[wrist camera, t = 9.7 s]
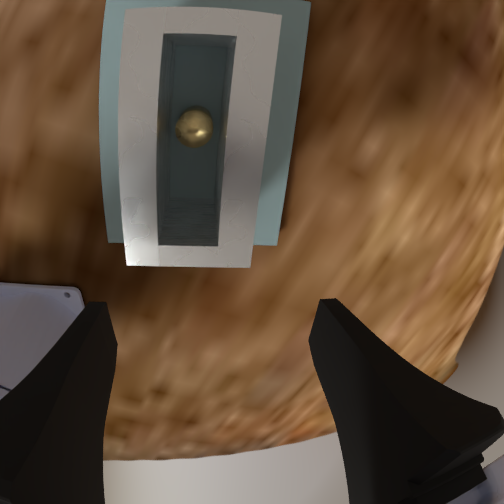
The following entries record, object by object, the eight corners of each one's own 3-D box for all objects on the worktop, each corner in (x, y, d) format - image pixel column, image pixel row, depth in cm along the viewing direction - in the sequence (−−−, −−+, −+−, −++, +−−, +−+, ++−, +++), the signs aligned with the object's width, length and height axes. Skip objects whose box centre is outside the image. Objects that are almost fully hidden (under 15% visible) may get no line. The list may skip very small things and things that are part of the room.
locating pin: (179, 136, 15) (174, 147, 13) (180, 105, 14) (175, 110, 12) (210, 136, 15) (211, 148, 13) (213, 105, 14) (214, 112, 12)
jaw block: (144, 213, 17) (127, 265, 13) (149, 27, 12) (125, 9, 7) (238, 215, 18) (250, 267, 14) (258, 31, 12) (282, 14, 8)
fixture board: (112, 234, 18) (108, 242, 17) (112, -3, 11) (107, -7, 10) (273, 237, 20) (276, 245, 19) (305, 5, 13) (311, 2, 12)
